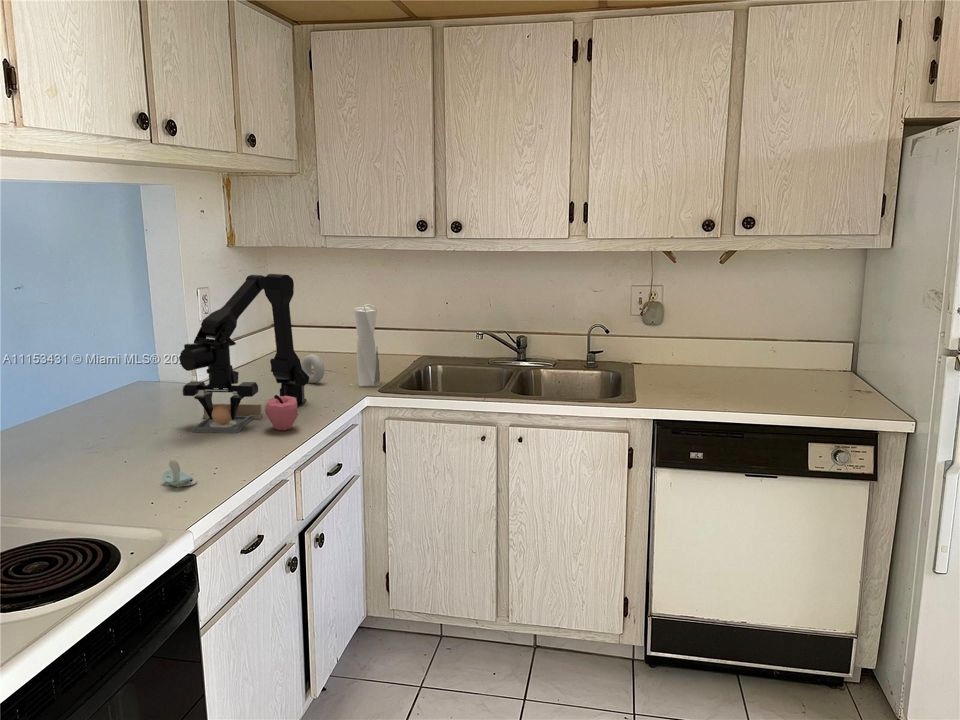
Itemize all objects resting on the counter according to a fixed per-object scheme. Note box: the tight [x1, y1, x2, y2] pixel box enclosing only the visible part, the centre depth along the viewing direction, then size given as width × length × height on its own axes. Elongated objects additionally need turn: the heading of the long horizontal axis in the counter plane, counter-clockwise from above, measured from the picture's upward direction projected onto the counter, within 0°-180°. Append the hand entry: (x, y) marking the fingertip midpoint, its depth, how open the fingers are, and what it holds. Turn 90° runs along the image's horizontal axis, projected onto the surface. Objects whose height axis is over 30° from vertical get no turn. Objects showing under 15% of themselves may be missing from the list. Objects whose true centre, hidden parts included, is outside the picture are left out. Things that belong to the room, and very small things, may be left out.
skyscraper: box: [353, 303, 381, 388], centre depth 242 cm, size 8×8×28 cm
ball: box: [212, 404, 232, 424], centre depth 197 cm, size 6×6×6 cm
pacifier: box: [162, 457, 198, 488], centre depth 156 cm, size 7×6×6 cm
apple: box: [264, 394, 299, 431], centre depth 195 cm, size 10×9×10 cm
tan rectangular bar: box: [202, 402, 264, 420], centre depth 205 cm, size 16×3×4 cm, turn 90°
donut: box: [301, 353, 325, 384], centre depth 246 cm, size 10×3×10 cm, turn 53°
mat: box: [192, 416, 253, 434], centre depth 198 cm, size 12×12×1 cm
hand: (222, 419), depth 197 cm, fingers closed on ball, 5 cm apart
